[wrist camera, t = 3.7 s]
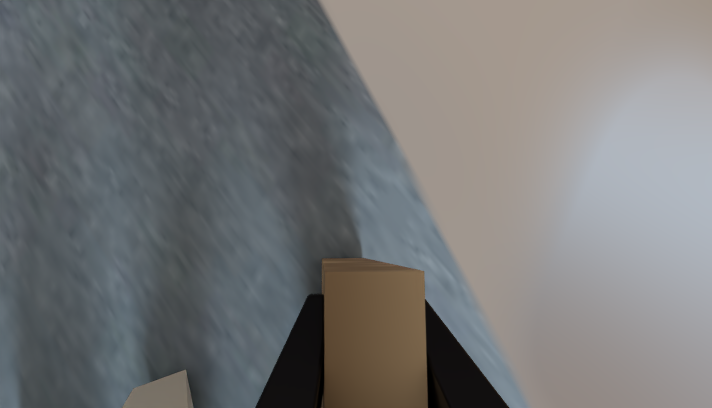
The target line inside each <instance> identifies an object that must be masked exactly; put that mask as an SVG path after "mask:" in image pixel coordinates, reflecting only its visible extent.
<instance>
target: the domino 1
mask: <svg viewBox="0 0 712 408" xmlns="http://www.w3.org/2000/svg"><path fill="white" fill-rule="evenodd" d="M122 408H194V407H193V402H192V397H191V392H190V387H189V382H188V377H187V372H186V370H183V371H180V372H177V373H175V374H172V375H169V376H166V377H163V378H161V379H158V380H155V381H152V382H150V383H147V384H144V385H141V386H139V387H136V388H133V390H132V392H131V393H130V395H129V397H128V399H127V400H126V402H125V404H124V406H123V407H122Z"/></svg>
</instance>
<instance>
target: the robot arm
mask: <svg viewBox="0 0 712 408" xmlns="http://www.w3.org/2000/svg"><path fill="white" fill-rule="evenodd" d="M425 321H426V357H427V393H428V408H509V407H508V406H507V404H506V403H505V402H504V400H503V399H502V398H501V396H500V395H499V394H498V393H497V391H496V390H495V389H494V387H493V386H492V385H491V384H490V382H489V381H488V380H487V378H486V377H485V376H484V374H483V373H482V372H481V371H480V369H479V368H478V367H477V365H476V364H475V363H474V362H473V360H472V359H471V358H470V356H469V355H468V354H467V352H466V351H465V350H464V349H463V347H462V346H461V345H460V343H459V342H458V341H457V340H456V338H455V337H454V336H453V334H452V333H451V332H450V330H449V329H448V328H447V327H446V325H445V324H444V323H443V321H442V320H441V319H440V317H439V316H438V315H437V314H436V312H435V311H434V310H433V308H432V307H431V306H430V305H429V303H428V302H427V301H426V299H425ZM323 386H324V294H309V295H308V296H307V298H306V300H305V303H304V305H303V307H302V309H301V311H300V313H299V315H298V317H297V320H296V322H295V324H294V326H293V328H292V330H291V332H290V335H289V337H288V339H287V341H286V343H285V345H284V347H283V349H282V352H281V354H280V356H279V358H278V360H277V362H276V364H275V367H274V369H273V371H272V373H271V375H270V377H269V379H268V381H267V384H266V386H265V388H264V390H263V392H262V394H261V396H260V399H259V401H258V403H257V405H256V407H255V408H322V400H323Z"/></svg>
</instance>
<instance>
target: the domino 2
mask: <svg viewBox="0 0 712 408" xmlns="http://www.w3.org/2000/svg"><path fill="white" fill-rule="evenodd" d="M322 294H324V386H323V400H322V408H428V393H427V357H426V321H425V285H424V271H421V270H416V269H412V268H407V267H403V266H398V265H393V264H389V263H384V262H379V261H375V260H370V259H366V258H322Z"/></svg>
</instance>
